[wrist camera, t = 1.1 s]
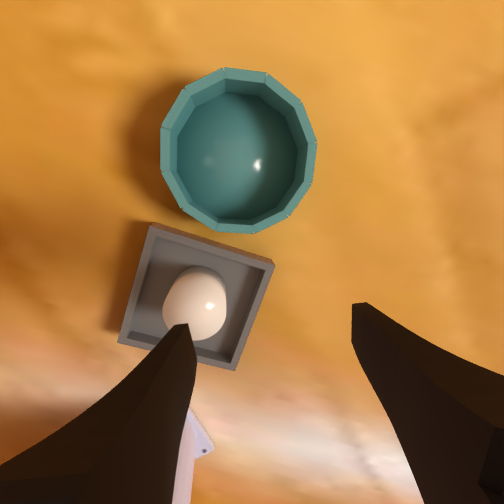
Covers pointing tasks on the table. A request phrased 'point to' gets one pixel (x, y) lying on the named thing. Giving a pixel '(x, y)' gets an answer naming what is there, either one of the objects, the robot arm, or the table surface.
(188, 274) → the stone
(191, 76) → the table surface
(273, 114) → the bowl
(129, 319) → the parts tray
